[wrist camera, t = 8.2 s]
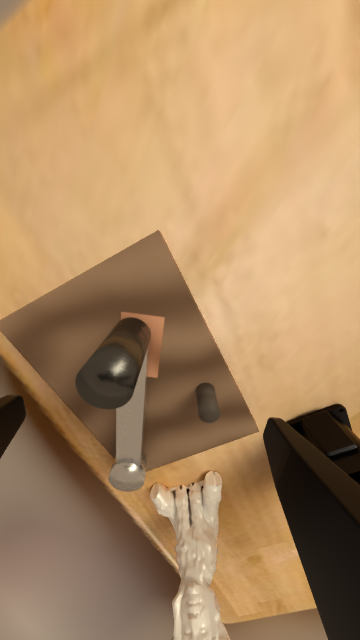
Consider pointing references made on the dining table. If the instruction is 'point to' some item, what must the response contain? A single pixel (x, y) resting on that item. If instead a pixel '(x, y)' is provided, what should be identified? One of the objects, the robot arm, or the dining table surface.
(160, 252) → the board
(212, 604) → the sitting furry creature
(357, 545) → the robot arm
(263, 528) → the dining table surface
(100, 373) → the lever
